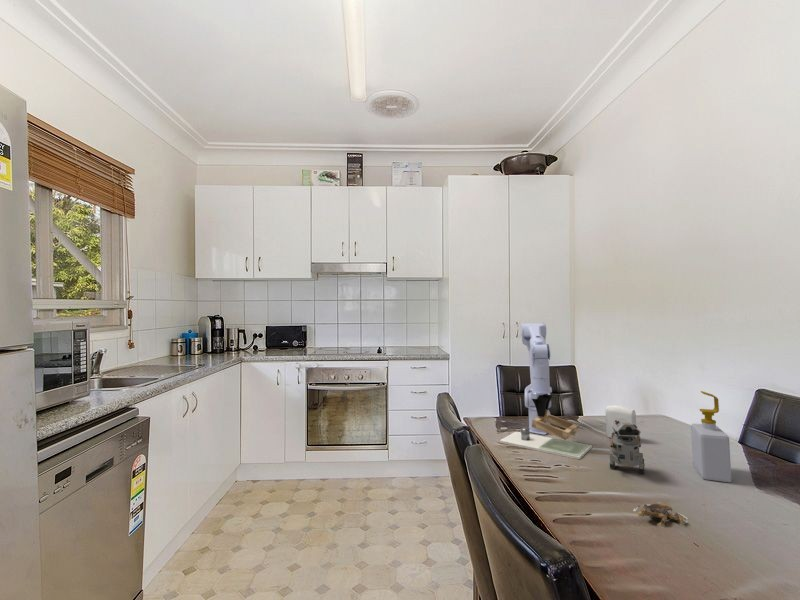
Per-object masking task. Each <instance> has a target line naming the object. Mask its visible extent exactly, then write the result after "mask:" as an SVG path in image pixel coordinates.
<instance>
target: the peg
mask: <svg viewBox="0 0 800 600" xmlns="http://www.w3.org/2000/svg"><path fill="white" fill-rule="evenodd" d="M520 432H521V439H522V440H525V441H528V440H530V434H531V432H530V430H529V427H526V426H522V427H520Z"/></svg>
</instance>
